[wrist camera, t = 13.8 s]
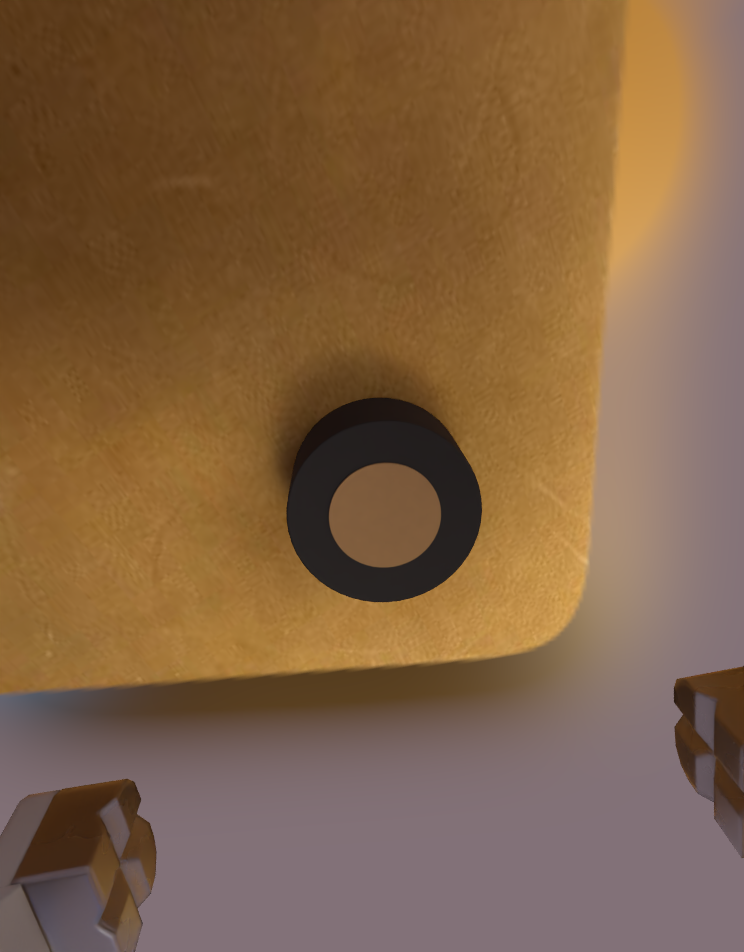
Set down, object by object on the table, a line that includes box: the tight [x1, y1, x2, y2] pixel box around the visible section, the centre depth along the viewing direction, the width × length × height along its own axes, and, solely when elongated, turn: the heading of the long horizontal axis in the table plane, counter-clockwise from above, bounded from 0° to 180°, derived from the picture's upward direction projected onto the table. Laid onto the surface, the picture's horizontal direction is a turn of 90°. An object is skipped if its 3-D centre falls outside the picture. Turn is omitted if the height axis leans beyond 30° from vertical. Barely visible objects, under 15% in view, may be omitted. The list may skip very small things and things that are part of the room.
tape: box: [287, 398, 482, 602], centre depth 21 cm, size 6×6×3 cm
